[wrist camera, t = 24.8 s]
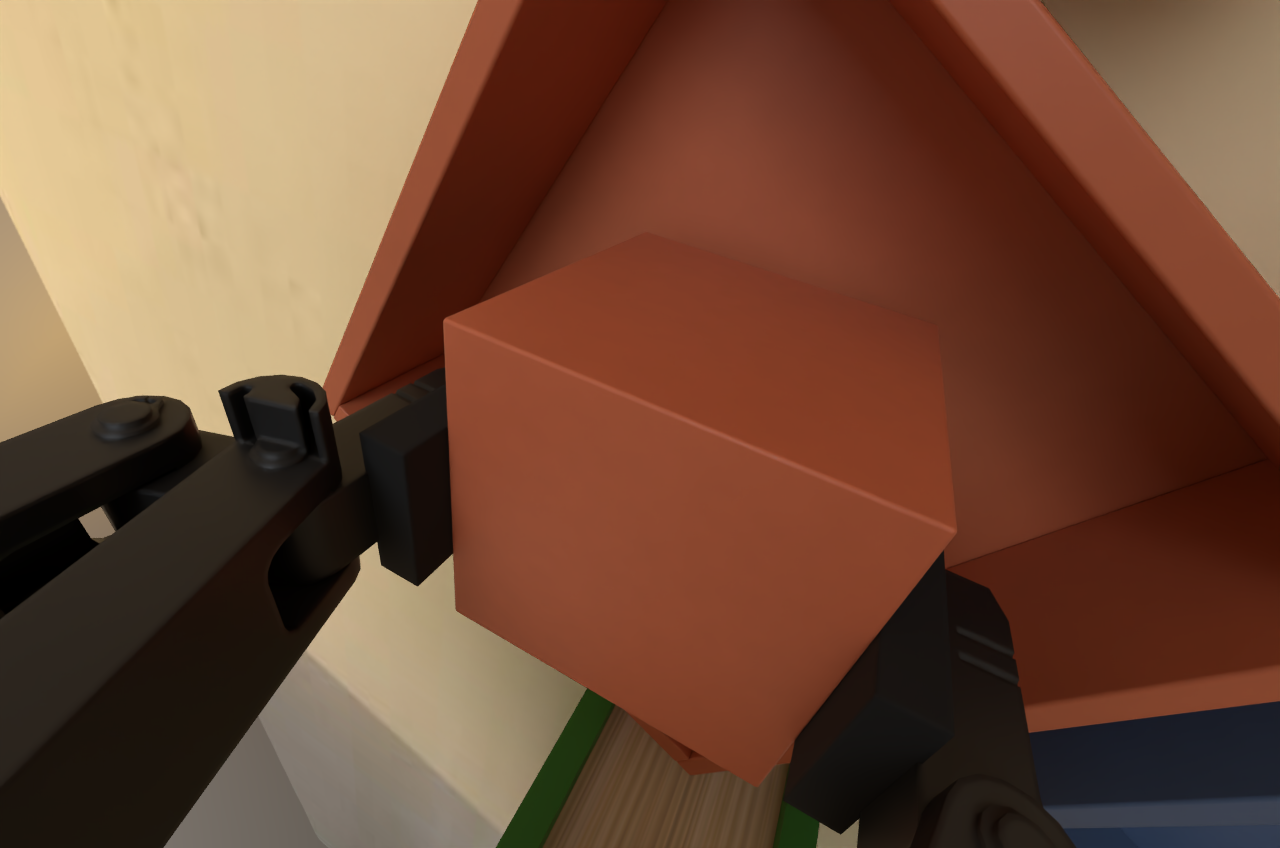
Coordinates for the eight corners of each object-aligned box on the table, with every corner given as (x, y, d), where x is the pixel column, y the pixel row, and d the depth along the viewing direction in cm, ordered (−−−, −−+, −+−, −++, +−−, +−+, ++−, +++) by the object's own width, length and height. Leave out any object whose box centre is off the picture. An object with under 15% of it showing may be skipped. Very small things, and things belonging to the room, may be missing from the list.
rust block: (939, 325, 9) (960, 533, 5) (816, 544, 13) (757, 789, 8) (645, 230, 11) (441, 318, 6) (605, 449, 14) (454, 611, 10)
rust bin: (1318, 451, 9) (1577, 667, 5) (734, 646, 18) (690, 776, 14) (774, -214, 8) (663, -472, 4) (441, 341, 17) (316, 401, 13)
